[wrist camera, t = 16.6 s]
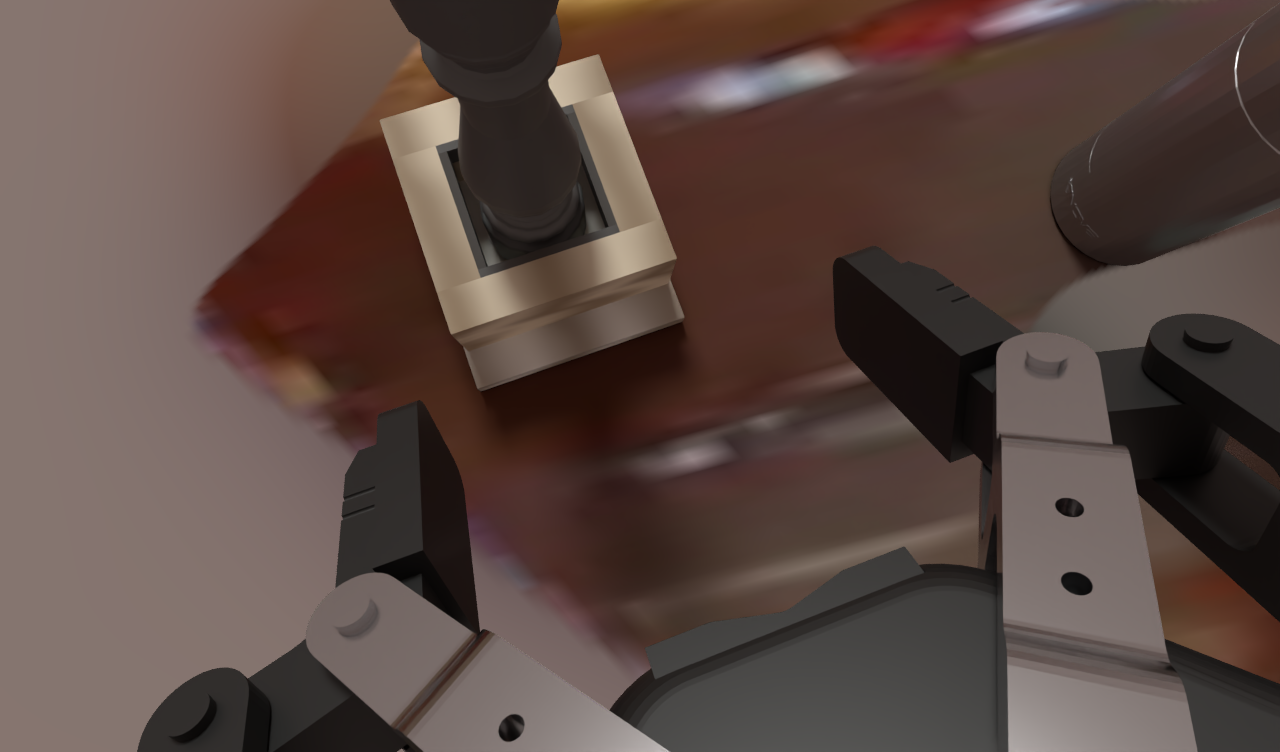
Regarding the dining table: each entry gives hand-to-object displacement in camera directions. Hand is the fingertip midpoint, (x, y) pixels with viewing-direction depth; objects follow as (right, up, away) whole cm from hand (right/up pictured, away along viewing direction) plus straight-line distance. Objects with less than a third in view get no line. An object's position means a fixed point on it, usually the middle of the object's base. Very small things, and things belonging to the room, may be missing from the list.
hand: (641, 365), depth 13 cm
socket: (-7, +9, +32) cm, 34 cm away
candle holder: (-7, +9, +31) cm, 33 cm away
